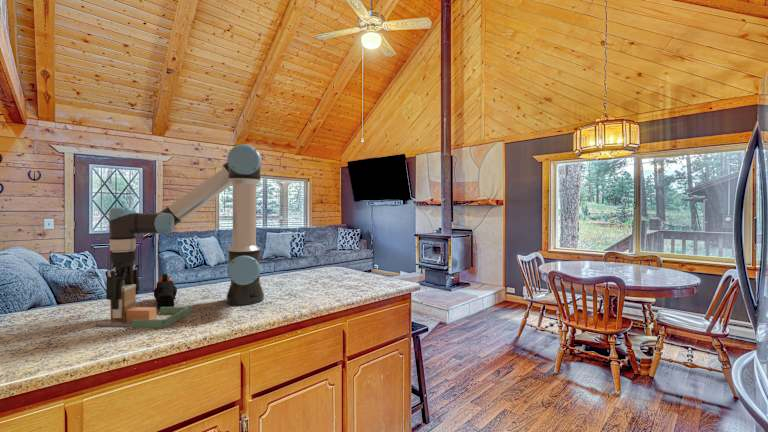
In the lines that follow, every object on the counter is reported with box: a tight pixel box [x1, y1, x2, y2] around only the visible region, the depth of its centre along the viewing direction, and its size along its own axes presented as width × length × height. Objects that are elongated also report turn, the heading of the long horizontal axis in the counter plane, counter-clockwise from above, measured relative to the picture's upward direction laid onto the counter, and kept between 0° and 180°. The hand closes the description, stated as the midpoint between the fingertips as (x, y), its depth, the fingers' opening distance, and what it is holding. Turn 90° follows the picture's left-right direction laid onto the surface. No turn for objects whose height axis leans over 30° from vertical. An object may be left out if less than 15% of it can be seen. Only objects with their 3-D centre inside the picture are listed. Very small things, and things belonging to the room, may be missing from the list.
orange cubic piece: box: [126, 306, 146, 322], centre depth 127 cm, size 4×4×4 cm
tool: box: [153, 273, 178, 310], centre depth 147 cm, size 8×23×15 cm, turn 31°
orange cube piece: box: [138, 306, 157, 320], centre depth 127 cm, size 4×4×4 cm
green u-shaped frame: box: [132, 306, 192, 329], centre depth 127 cm, size 11×16×2 cm
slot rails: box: [95, 310, 158, 328], centre depth 127 cm, size 12×14×1 cm
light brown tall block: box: [109, 283, 137, 322], centre depth 127 cm, size 5×6×12 cm
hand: (123, 314), depth 127 cm, fingers closed on light brown tall block, 5 cm apart
